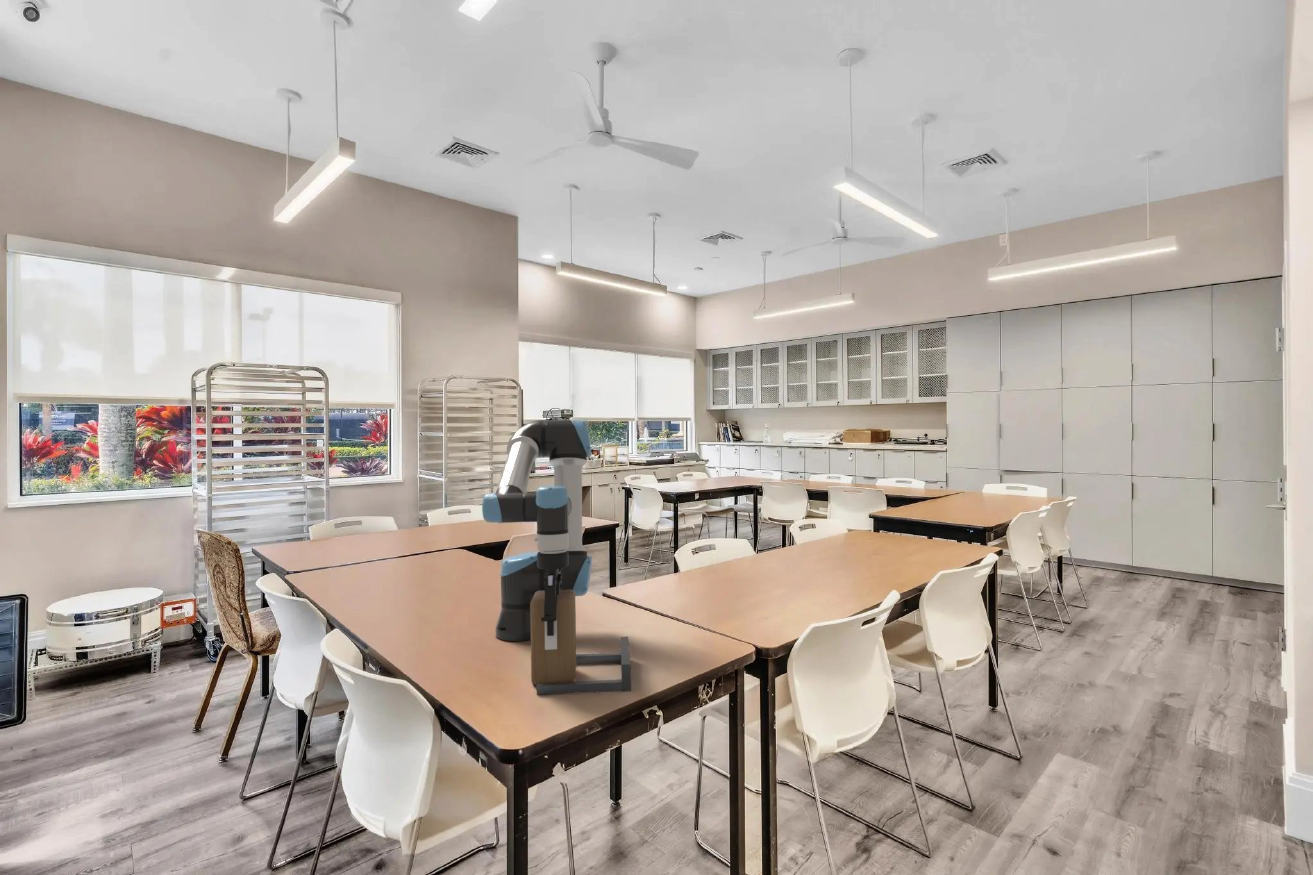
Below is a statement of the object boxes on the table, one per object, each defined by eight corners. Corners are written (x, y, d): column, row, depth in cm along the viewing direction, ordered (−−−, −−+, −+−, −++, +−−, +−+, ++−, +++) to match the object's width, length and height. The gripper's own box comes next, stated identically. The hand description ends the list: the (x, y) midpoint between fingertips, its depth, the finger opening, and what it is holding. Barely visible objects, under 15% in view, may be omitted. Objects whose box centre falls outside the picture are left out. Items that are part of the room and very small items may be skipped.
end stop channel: (536, 695, 135) (536, 668, 135) (546, 663, 155) (546, 639, 155) (630, 690, 136) (630, 664, 136) (628, 659, 156) (628, 636, 156)
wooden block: (535, 670, 150) (534, 589, 150) (576, 669, 150) (575, 588, 151) (530, 687, 140) (529, 600, 140) (574, 684, 140) (573, 598, 141)
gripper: (542, 543, 158) (543, 625, 157) (530, 560, 133) (531, 658, 132) (571, 542, 158) (573, 624, 158) (564, 559, 133) (565, 656, 133)
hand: (553, 639), depth 145 cm, fingers open, 13 cm apart
